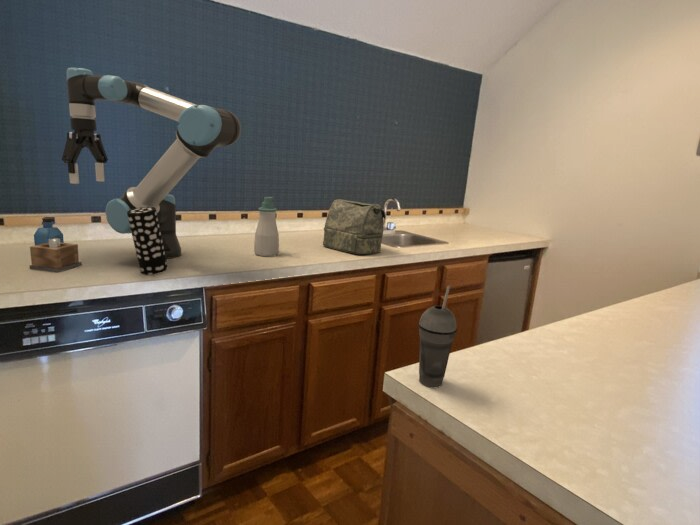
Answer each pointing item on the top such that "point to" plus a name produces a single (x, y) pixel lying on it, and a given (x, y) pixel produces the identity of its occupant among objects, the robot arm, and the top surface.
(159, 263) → the white-spotted black cylinder
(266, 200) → the soap bottle
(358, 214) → the lunch bag
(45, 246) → the open wooden crate
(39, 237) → the perfume bottle
